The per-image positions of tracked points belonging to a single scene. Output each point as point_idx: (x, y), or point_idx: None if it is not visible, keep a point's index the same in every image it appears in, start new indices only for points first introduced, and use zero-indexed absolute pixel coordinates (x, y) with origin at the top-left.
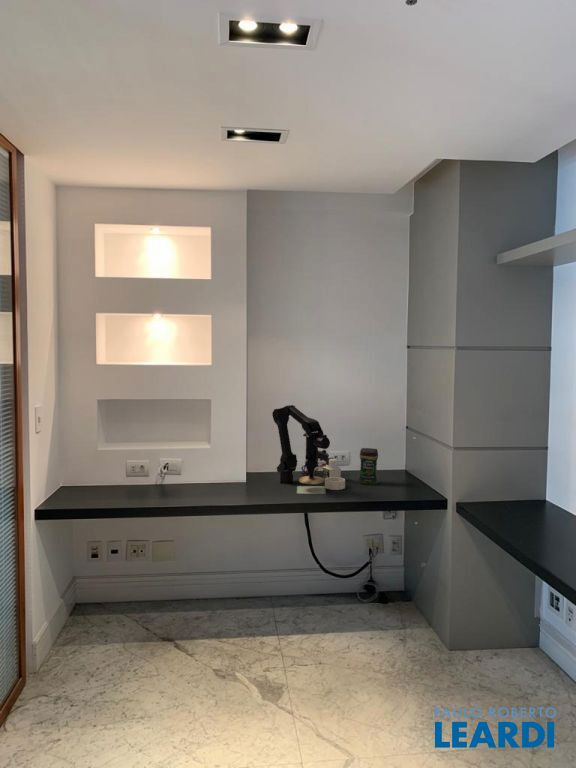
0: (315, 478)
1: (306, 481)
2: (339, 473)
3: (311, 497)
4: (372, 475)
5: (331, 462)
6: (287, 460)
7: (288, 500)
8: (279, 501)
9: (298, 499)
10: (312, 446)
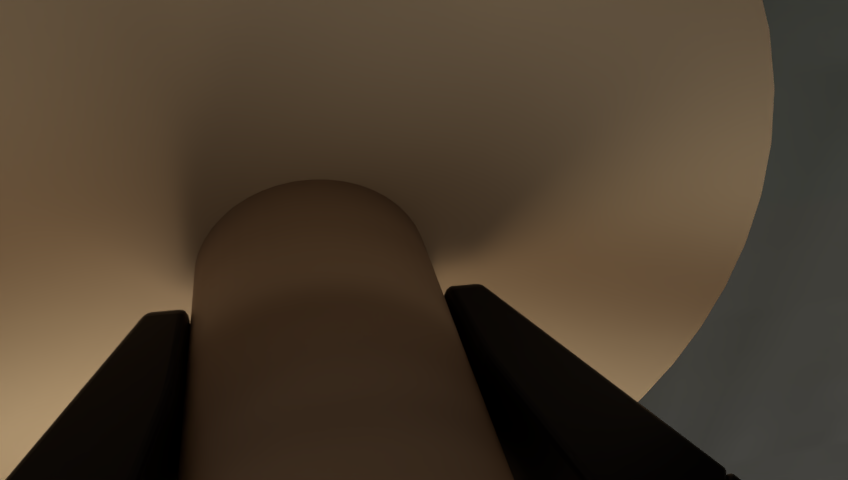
0: (222, 134)
1: (660, 373)
2: None
3: (793, 73)
4: None
5: None
6: None
7: (819, 378)
8: (819, 450)
9: (826, 272)
10: None
